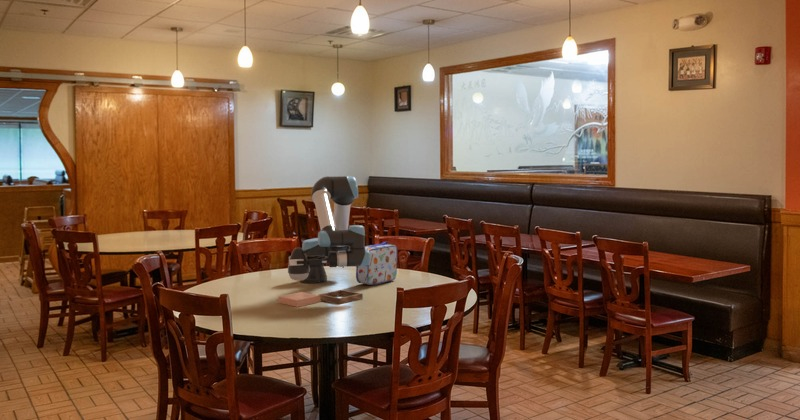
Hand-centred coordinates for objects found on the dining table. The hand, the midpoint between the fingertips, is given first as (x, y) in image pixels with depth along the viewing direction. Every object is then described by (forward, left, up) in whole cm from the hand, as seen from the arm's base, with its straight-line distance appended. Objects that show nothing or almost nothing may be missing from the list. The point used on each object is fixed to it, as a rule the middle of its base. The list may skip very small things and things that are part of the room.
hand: (289, 261), depth 317 cm
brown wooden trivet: (-20, +13, -20) cm, 31 cm away
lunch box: (-62, -3, -20) cm, 66 cm away
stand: (-3, +3, -20) cm, 20 cm away
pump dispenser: (-3, +3, -9) cm, 10 cm away
